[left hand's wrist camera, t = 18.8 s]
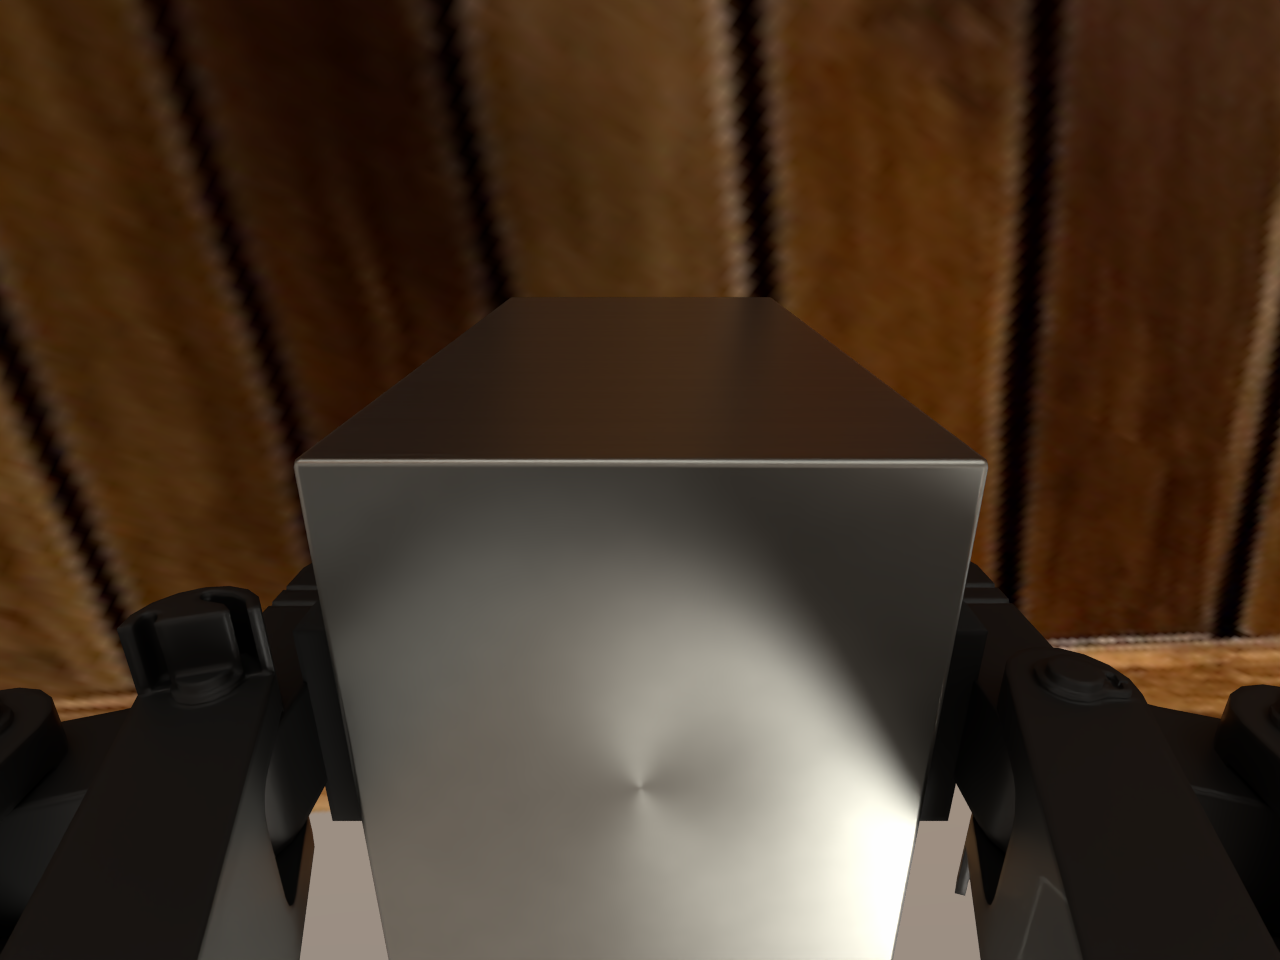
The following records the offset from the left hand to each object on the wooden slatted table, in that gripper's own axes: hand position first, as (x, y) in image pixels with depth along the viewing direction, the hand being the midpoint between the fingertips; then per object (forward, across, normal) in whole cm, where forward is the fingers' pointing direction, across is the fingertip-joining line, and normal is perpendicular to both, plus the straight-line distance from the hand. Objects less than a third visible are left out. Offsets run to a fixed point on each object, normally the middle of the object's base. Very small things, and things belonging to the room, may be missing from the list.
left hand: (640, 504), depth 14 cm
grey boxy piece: (+4, 0, 0) cm, 4 cm away
